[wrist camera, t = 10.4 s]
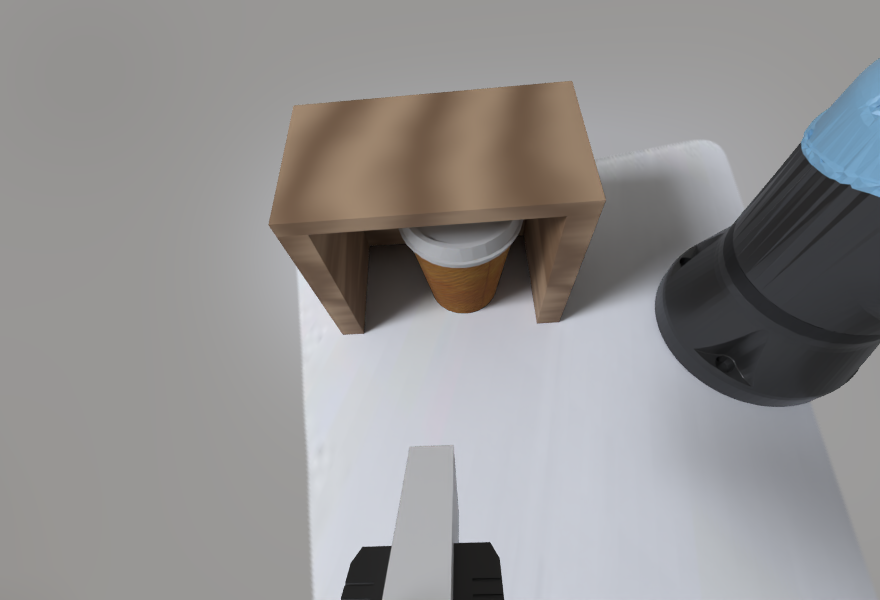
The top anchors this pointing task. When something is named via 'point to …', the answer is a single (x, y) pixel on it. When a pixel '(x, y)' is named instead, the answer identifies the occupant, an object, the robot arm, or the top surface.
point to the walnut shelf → (436, 184)
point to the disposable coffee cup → (462, 260)
